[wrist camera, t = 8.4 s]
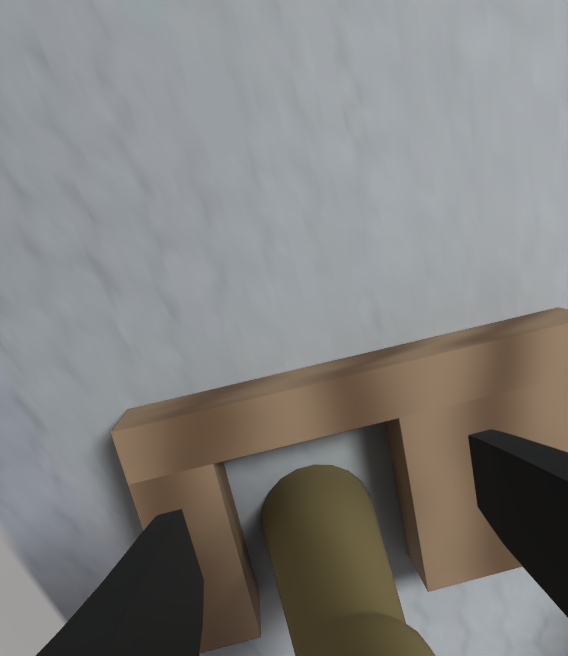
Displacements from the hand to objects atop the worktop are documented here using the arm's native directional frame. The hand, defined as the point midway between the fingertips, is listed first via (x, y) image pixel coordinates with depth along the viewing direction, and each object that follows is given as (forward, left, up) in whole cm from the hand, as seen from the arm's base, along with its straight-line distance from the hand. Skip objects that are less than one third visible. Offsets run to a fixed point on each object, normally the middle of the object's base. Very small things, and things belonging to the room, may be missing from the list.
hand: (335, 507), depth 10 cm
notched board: (-3, +6, -10) cm, 12 cm away
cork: (0, +8, -11) cm, 13 cm away
